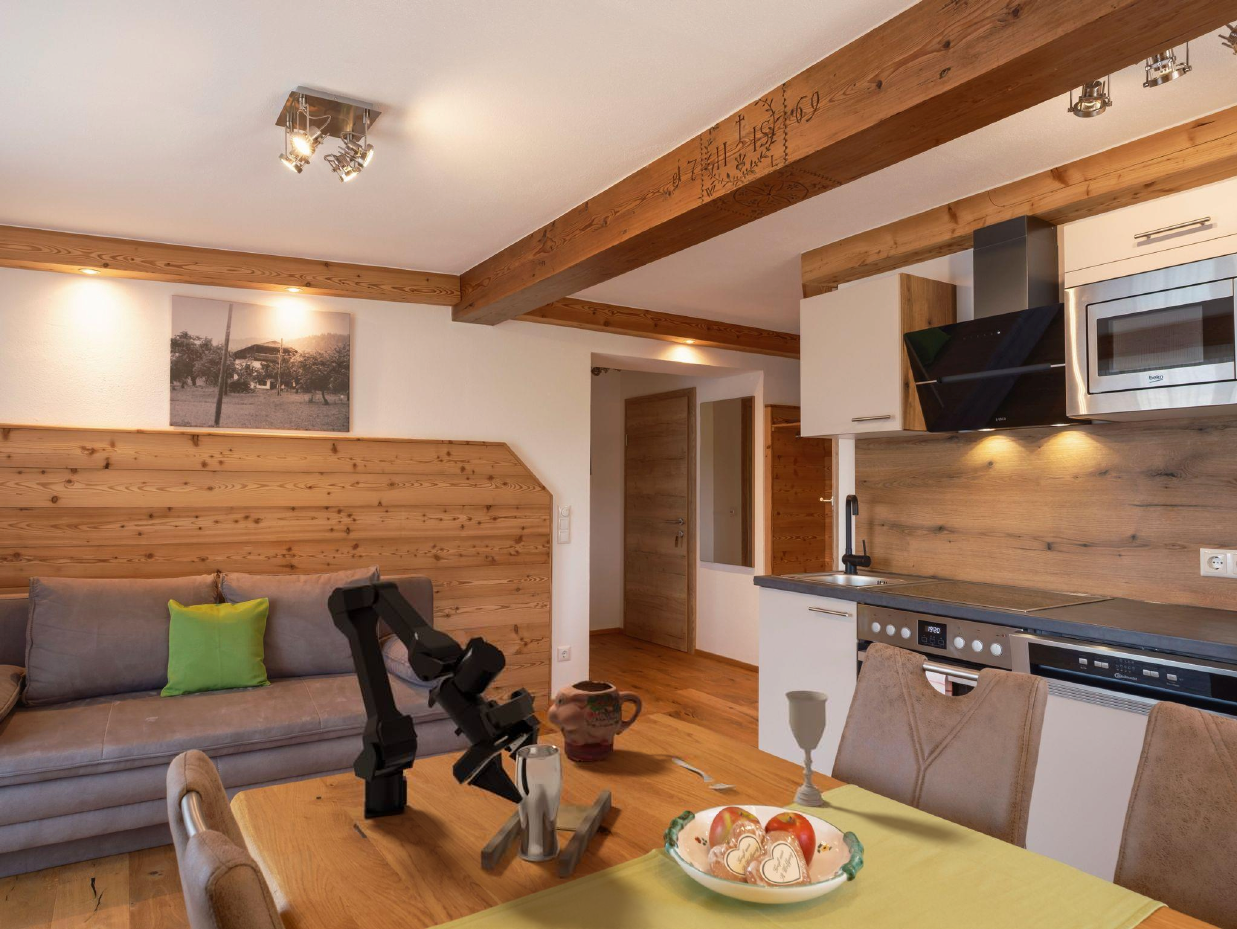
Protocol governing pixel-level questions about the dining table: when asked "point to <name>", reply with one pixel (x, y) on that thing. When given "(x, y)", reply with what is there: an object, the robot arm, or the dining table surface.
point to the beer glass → (539, 800)
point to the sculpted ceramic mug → (591, 718)
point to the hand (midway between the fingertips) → (534, 790)
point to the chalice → (807, 736)
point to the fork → (706, 778)
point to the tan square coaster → (571, 816)
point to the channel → (570, 852)
